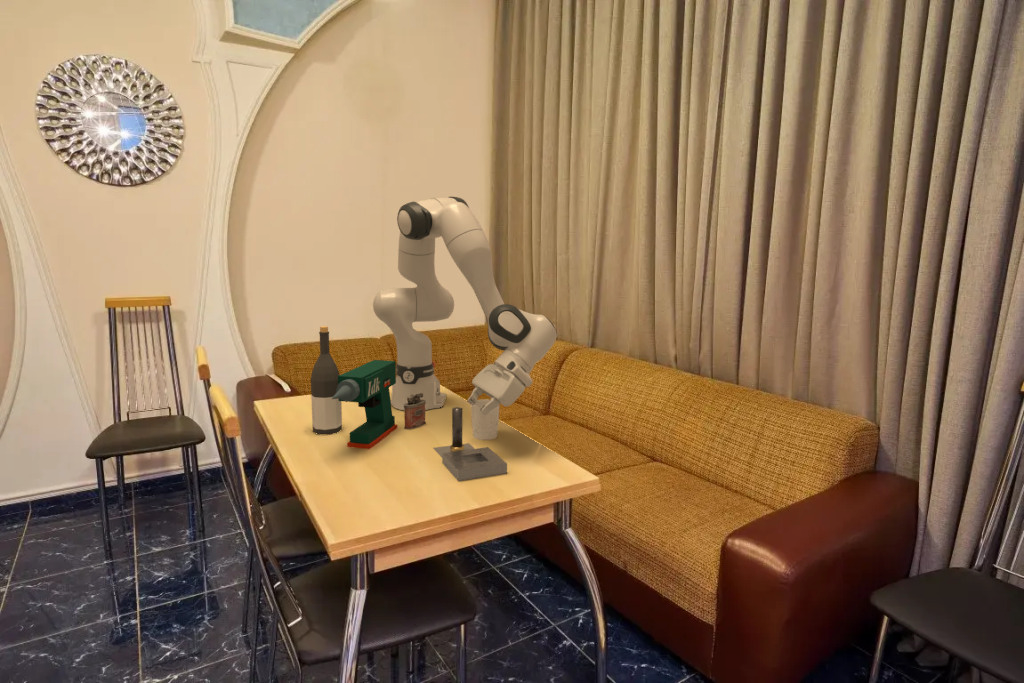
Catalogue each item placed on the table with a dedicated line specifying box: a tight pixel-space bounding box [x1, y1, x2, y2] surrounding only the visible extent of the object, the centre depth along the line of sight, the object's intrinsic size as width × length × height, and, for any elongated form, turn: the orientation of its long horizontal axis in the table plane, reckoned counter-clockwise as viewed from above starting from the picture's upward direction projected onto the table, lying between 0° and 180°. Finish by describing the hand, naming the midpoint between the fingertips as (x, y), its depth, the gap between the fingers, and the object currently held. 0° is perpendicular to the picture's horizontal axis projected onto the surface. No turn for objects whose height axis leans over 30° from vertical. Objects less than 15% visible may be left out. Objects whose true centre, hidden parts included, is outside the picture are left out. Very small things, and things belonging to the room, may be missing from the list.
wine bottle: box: [310, 325, 343, 435], centre depth 167 cm, size 8×8×30 cm
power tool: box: [332, 359, 398, 450], centre depth 156 cm, size 32×7×20 cm, turn 168°
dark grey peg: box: [449, 406, 464, 452], centre depth 152 cm, size 4×4×12 cm
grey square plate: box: [433, 442, 476, 458], centre depth 153 cm, size 10×10×1 cm
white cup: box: [470, 398, 501, 441], centre depth 165 cm, size 8×8×10 cm
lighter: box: [403, 393, 427, 431], centre depth 173 cm, size 8×3×10 cm, turn 147°
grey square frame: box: [441, 446, 508, 482], centre depth 142 cm, size 12×12×3 cm
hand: (476, 407), depth 153 cm, fingers open, 8 cm apart
